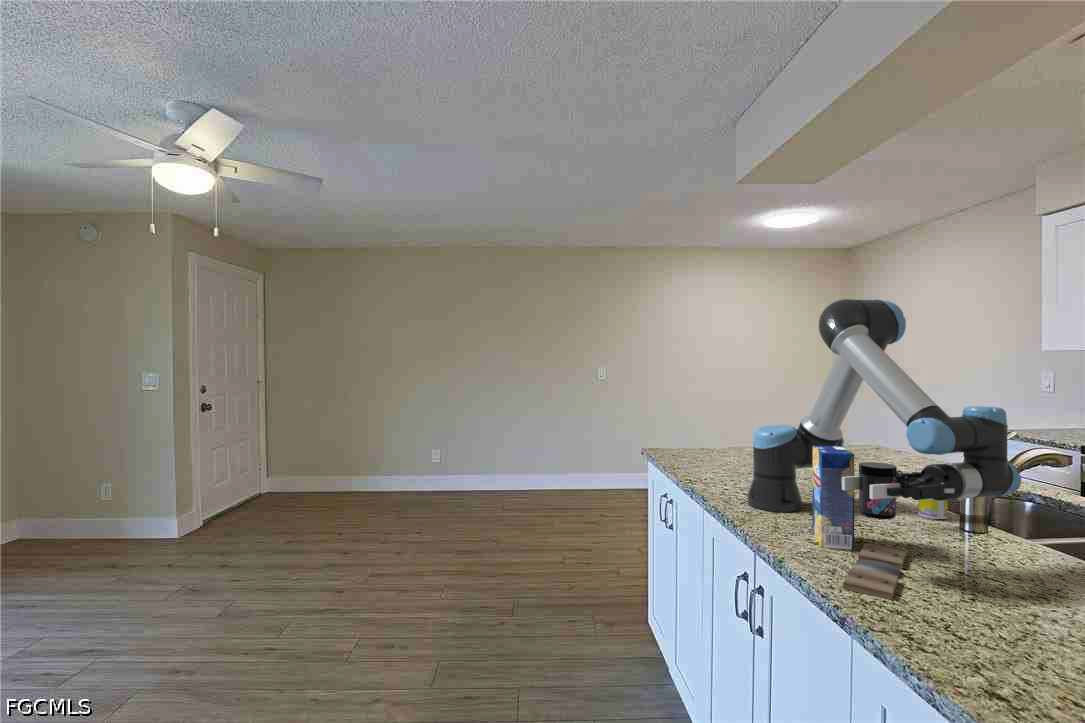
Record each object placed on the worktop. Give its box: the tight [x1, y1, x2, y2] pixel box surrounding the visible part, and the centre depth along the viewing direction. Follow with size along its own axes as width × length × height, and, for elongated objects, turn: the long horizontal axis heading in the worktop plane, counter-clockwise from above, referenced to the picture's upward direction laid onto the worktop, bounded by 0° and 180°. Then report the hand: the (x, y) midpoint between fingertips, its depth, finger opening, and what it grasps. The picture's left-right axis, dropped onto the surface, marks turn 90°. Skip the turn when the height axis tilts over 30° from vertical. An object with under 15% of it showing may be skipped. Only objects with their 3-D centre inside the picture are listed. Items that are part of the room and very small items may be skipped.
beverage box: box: [812, 446, 855, 551], centre depth 134 cm, size 7×11×22 cm, turn 164°
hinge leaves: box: [842, 542, 907, 601], centre depth 116 cm, size 28×8×1 cm, turn 143°
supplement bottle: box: [917, 498, 949, 520], centre depth 153 cm, size 7×7×13 cm
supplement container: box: [858, 461, 898, 520], centre depth 115 cm, size 7×7×10 cm
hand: (856, 487), depth 114 cm, fingers closed on supplement container, 7 cm apart
